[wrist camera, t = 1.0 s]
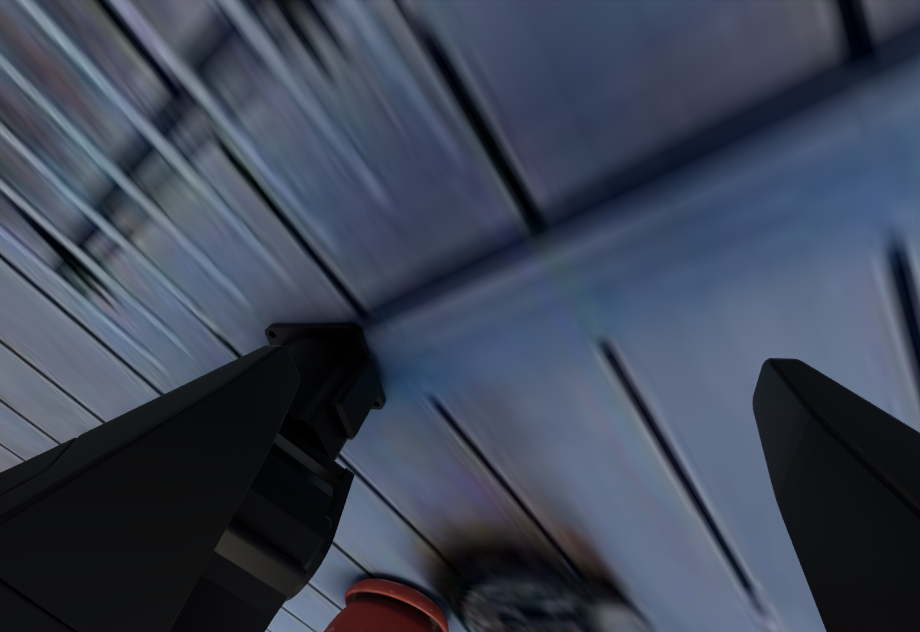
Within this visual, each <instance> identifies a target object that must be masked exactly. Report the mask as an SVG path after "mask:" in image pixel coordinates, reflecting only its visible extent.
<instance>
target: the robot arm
mask: <svg viewBox="0 0 920 632" xmlns="http://www.w3.org/2000/svg"><path fill="white" fill-rule="evenodd" d="M351 332H352V333H353V334H352V333H351ZM265 334H266V336H267V338H268V340H269V342H270V344H271V345H267V346H264V347H261V348H259V349H257V350H255V351H253V352H251V353H249V354H247V355H245V356H243V357H241V358H239V359H237V360H235V361H232V362H230V363H228V364H226V365H224V366H222V367H220V368H218V369H216V370H214V371H212V372H210V373H208V374H206V375H204V376H201V377H199V378H197V379H195V380H193V381H191V382H189V383H187V384H185V385H183V386H181V387H179V388H177V389H175V390H172V391H170V392H168V393H166V394H164V395H162V396H160V397H158V398H156V399H154V400H152V401H150V402H148V403H146V404H144V405H141V406H139V407H137V408H135V409H133V410H131V411H129V412H127V413H125V414H123V415H121V416H119V417H117V418H115V419H112V420H110V421H108V422H106V423H104V424H102V425H100V426H98V427H96V428H94V429H92V430H90V431H88V432H86V433H83V434H81V435H80V436H79V437H78V438H73V439H71V440H69V441H67V442H65V443H63V444H61V445H58V446H56V447H54V448H52V449H50V450H48V451H46V452H44V453H42V454H40V455H37V456H35V457H33V458H31V459H29V460H27V461H25V462H23V463H21V464H18V465H16V466H14V467H12V468H10V469H8V470H5V471H3V472H1V473H0V632H265V630H266V629H267V627H268V626H269V624H270V622H271V621H272V619H273V618H274V616H275V615H276V613H277V612H278V611H279V609H280V608H281V606H282V605H283V604H284V602H285V601H288V600H290V599H292V598H293V597H294V596H295V595H297V594H298V593H299V592H300V591H301V590H302V589H303V588H304V587H305V585H306V584H307V583H308V582H309V580H310V579H311V578H312V577H313V575H314V574H315V572H316V571H317V569H318V568H319V567H320V565H321V563H322V562H323V560H324V558H325V556H326V555H327V553H328V551H329V549H330V547H331V544H332V542H333V539H334V536H335V533H336V530H337V527H338V524H339V521H340V518H341V515H342V512H343V509H344V505H345V502H346V499H347V496H348V493H349V490H350V487H351V484H352V481H353V478H354V473H352V472H351V471H350V470H349V469H347V468H346V469H344V468H343V467H342V466H340V465H339V464H338V463H336V462H335V460H336V458H337V456H338V455H339V453H340V451H341V449H342V448H343V446H344V444H345V442H346V441H347V439H348V440H352V439H353V438H354V437H355V436H356V434H357V433H358V431H359V429H360V427H361V426H362V424H363V422H364V420H365V418H366V417H367V415H368V413H369V411H370V410H371V409H382V408H383V406H384V404H385V402H386V401H385V397H384V395H383V392H382V387H381V384H380V381H379V379H378V376H377V373H376V370H375V367H374V364H373V362H372V359H371V358H370V355H369V352H368V349H367V346H366V344H365V341H364V338H363V335H362V332H361V330H360V328H358V327H357V326H356V325H353V324H272V325H270V326H269V327H268V328H267V329H266V330H265ZM753 411H754V415H755V419H756V423H757V427H758V431H759V435H760V439H761V443H762V447H763V451H764V455H765V459H766V463H767V467H768V471H769V475H770V479H771V483H772V487H773V491H774V494H775V498H776V501H777V504H778V507H779V509H780V512H781V515H782V518H783V520H784V523H785V525H786V528H787V531H788V533H789V536H790V538H791V541H792V544H793V546H794V549H795V551H796V554H797V556H798V559H799V562H800V564H801V567H802V569H803V572H804V575H805V577H806V580H807V582H808V585H809V587H810V590H811V593H812V595H813V598H814V600H815V603H816V606H817V608H818V611H819V613H820V616H821V618H822V621H823V624H824V626H825V629H826V631H827V632H920V433H919V432H918V431H916V430H914V429H913V428H911V427H909V426H908V425H906V424H905V423H903V422H901V421H900V420H898V419H896V418H895V417H893V416H891V415H890V414H888V413H886V412H885V411H883V410H882V409H880V408H878V407H877V406H875V405H873V404H872V403H870V402H868V401H867V400H865V399H863V398H862V397H860V396H858V395H857V394H855V393H854V392H852V391H850V390H849V389H847V388H845V387H844V386H842V385H840V384H839V383H837V382H835V381H834V380H832V379H830V378H829V377H827V376H826V375H824V374H822V373H821V372H819V371H817V370H816V369H814V368H812V367H811V366H809V365H807V364H806V363H804V362H802V361H800V360H798V359H785V358H769V359H767V360H766V361H765V362H764V363H763V365H762V368H761V371H760V375H759V378H758V382H757V385H756V388H755V392H754V395H753Z"/></svg>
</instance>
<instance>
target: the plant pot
mask: <svg viewBox="0 0 920 632" xmlns="http://www.w3.org/2000/svg"><path fill="white" fill-rule="evenodd" d="M345 604H346V606H347V607H346V608H344V609H343V610H342V611H341V612H340V613H339V614H338V615H337V616H336V617H335V618H334V619H333V620H332V622H331V623H330V624H329V625H328V627H327V628H326V629H325V631H324V632H449V629H448V623H447V620H446V618H445V616H444V614H443V612H442V611H441V609H440V608H439V607H438V606H437V605H436V604H435V603H434V602H433V601H432V600H431V599H430V598H428V597H427V596H426V595H424V594H423V593H421V592H419V591H417V590H416V589H414V588H411V587H409V586H406V585H404V584H401V583H397V582H394V581H390V580H385V579H366V580H362V581H360V582H358V583H356V584H354V585H353V586H352V587H350V588H349V589H348V591H347V592H346V594H345Z"/></svg>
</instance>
